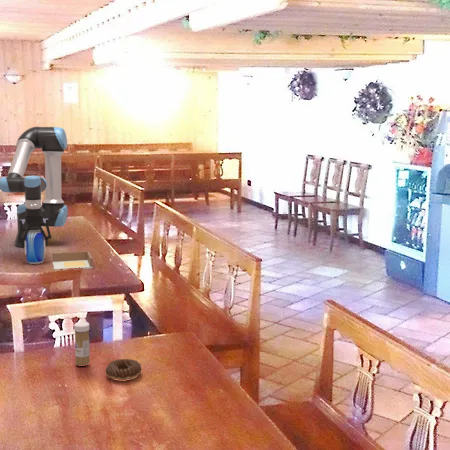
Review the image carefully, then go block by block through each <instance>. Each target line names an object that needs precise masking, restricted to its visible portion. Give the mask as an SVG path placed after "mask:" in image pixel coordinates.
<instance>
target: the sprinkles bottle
mask: <svg viewBox="0 0 450 450" xmlns="http://www.w3.org/2000/svg"><path fill="white" fill-rule="evenodd" d="M73 331H74V356H75V364H76V365H86V364H88V363H89V362H90V322H88V321H78V322H77V321H76V322H75V323H74V325H73ZM75 364H74V365H75ZM76 365H75V366H76Z"/></svg>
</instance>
